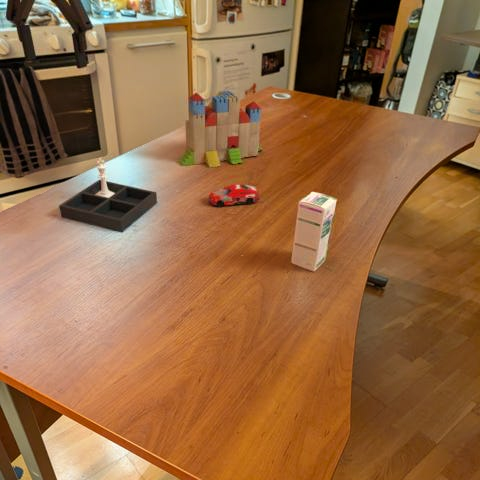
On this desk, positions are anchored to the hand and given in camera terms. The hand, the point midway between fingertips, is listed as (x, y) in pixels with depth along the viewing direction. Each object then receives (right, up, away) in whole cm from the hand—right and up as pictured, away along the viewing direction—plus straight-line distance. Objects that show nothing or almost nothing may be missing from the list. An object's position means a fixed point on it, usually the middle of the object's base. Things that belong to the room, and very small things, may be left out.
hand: (56, 63), depth 103 cm
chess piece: (+7, -27, +13) cm, 31 cm away
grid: (+10, -31, +9) cm, 33 cm away
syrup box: (+56, -45, -4) cm, 72 cm away
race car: (+39, -27, +16) cm, 50 cm away
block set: (+36, -7, +39) cm, 54 cm away
